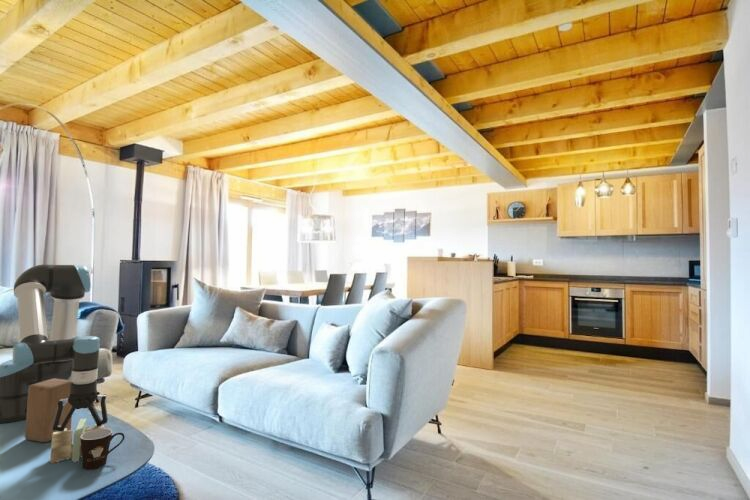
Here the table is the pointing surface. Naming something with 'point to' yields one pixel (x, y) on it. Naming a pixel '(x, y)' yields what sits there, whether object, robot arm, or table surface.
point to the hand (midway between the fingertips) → (79, 446)
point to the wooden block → (46, 408)
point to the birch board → (64, 444)
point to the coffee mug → (96, 447)
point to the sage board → (78, 439)
